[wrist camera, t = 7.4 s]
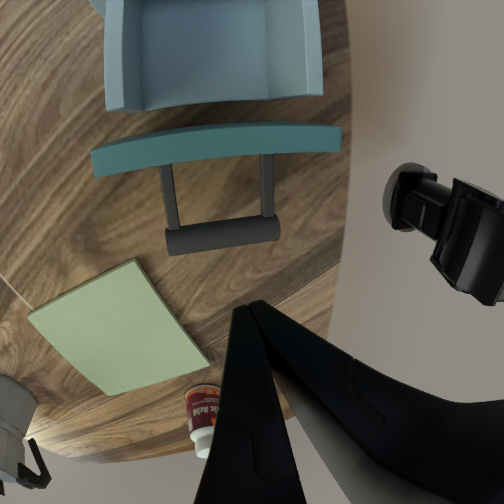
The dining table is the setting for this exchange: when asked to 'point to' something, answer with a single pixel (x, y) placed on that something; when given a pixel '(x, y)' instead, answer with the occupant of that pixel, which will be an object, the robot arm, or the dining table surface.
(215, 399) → the pill bottle
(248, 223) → the drawer
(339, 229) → the dining table surface
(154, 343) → the mat
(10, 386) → the coffee maker
